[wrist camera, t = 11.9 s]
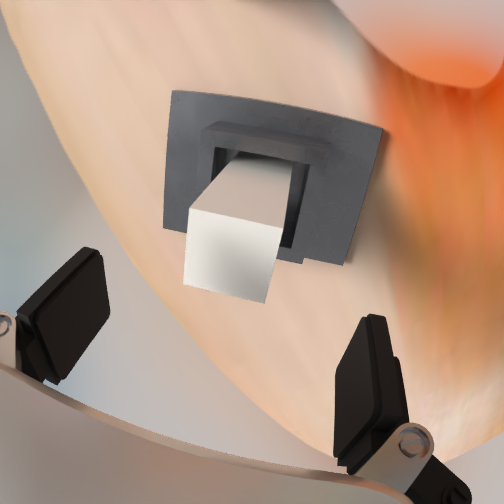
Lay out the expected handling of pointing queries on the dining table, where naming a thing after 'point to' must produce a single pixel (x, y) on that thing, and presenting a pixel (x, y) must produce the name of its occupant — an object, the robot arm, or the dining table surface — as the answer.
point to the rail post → (238, 227)
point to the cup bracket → (281, 146)
